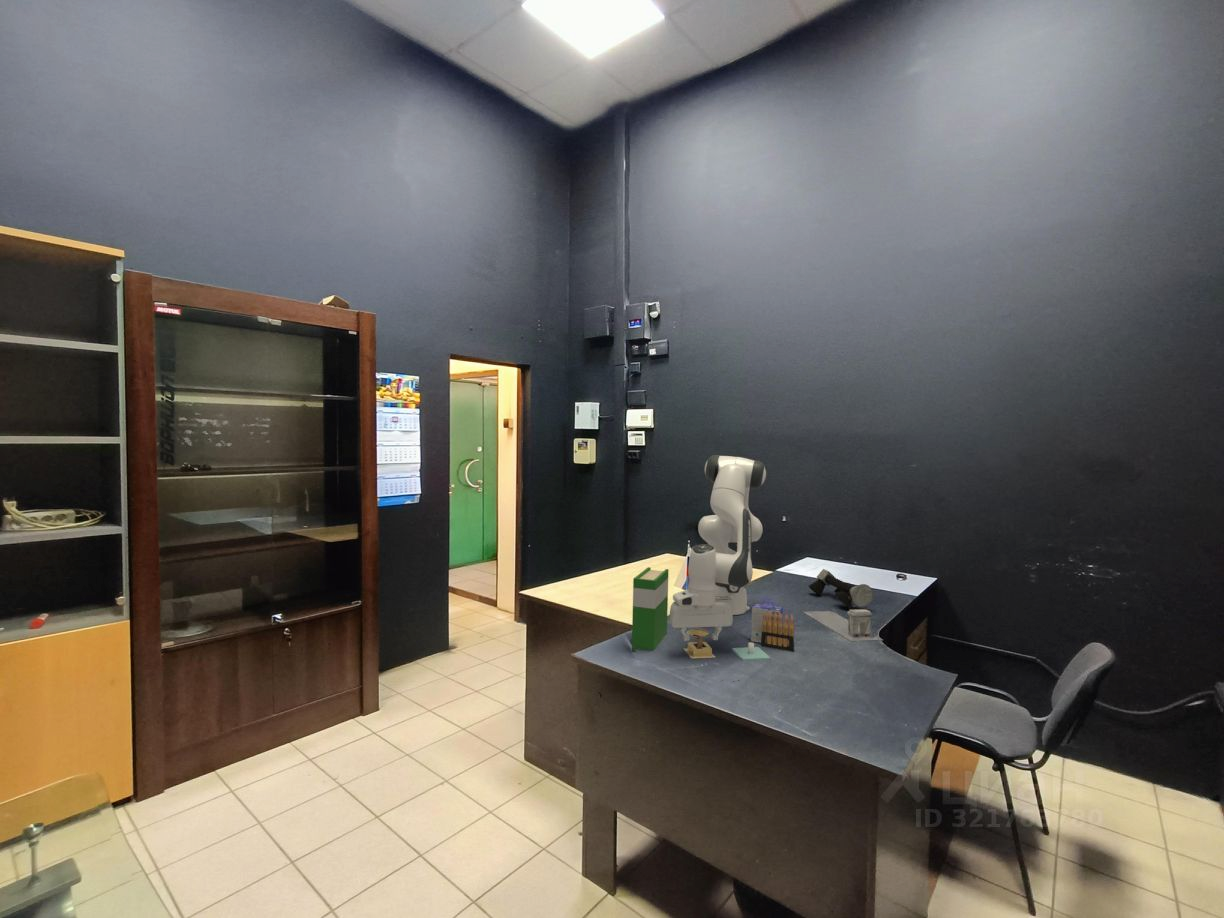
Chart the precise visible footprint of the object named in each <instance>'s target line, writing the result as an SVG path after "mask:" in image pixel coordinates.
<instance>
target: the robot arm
mask: <svg viewBox="0 0 1224 918" xmlns="http://www.w3.org/2000/svg"><path fill="white" fill-rule="evenodd" d="M704 475H705V478H706V479H707V481H709V482H711V483H713V487H712V489H711V490H712V491H711V495H710V507H711V510H712V512H713V513H714V514H712V515H704V516H703V517H702V518H701V519H700V520H699V521H698V525H697V526H698V527H697V528H698V529H697V530H698V534H699V536H700V537H701V539H703V541H705V542H706V544H704V543H703V544H695V545H694V546H692V547H691V549H690V553H689V559H688V569H687V570H688V572H687V573H688V578H689V580H688V583H687V589H684V590H682V591H678V592H675V593H673V594H672V600H673V601H674V602H672V604H671V605H670V610H669V616H668V622H669V625H670V626H671V627H672V628H674V629H680V632H681V633H682V635H683V637H682V638H683V639H682V640H683V641H684V642H690V635H689V634H687V633H686V631H687V629H688V628H689V629H690V628H710V627H711V628H712V627H713V628H716V629H715V631H714V632H713V633H711V639H712V640H713V641H718V640H719V634H720V633H721V631H722V629H723V627H730V626H732V624H733V621H734V619H733V616H737V615H743V614H745V613H747V611H750V609H751V607H750V606H749V605H748V599H747V597H748V596H747V590H746V588H744V586H747V585H748V584H749V583H750V582H751V581H752V579H753V573H754V572H753V569H754V568H753V558H752V543H753V542H758V541H759V540H760V539H761V537H762V534H763V524H762V522H761V521H760V519H759V518H758V517H756V516H755V515H754V514H753V513H752V512H751V511H750V508H749V497H750V496H749V495H750V489H751V490H755V489H759V488H761V487H762V485H763V484H764V482H765V481H766V477H767V471H766V467H765V464H764V463H763V462H761V461H759V460H756V459H755V460H754V459H750V458H746V457H742V456H733V455H731V456H729V455H720V454H712V455H711V456H710V457H708V458H707V460H706V462H705V465H704ZM729 543H737V544H736V547H737V548H736V551H735V550H733V549H732V548H730V547H729Z"/></svg>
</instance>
